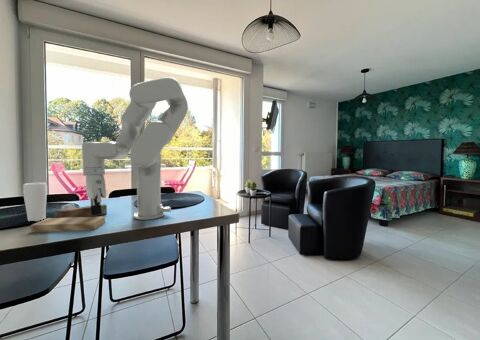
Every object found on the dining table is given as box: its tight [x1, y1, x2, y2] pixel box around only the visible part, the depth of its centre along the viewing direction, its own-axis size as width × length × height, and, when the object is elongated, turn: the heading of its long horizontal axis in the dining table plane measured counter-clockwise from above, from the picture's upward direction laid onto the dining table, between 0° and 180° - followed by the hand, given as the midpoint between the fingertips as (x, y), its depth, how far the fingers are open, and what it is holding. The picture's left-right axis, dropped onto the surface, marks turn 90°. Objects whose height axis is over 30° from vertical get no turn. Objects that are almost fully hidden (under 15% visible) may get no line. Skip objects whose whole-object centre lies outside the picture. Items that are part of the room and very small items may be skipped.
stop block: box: [61, 202, 76, 209], centre depth 95 cm, size 2×5×4 cm, turn 10°
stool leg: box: [53, 203, 108, 218], centre depth 89 cm, size 18×3×4 cm, turn 135°
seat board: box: [30, 216, 106, 233], centre depth 79 cm, size 20×9×2 cm, turn 100°
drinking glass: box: [22, 181, 48, 222], centre depth 85 cm, size 7×7×15 cm
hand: (96, 214), depth 90 cm, fingers closed
